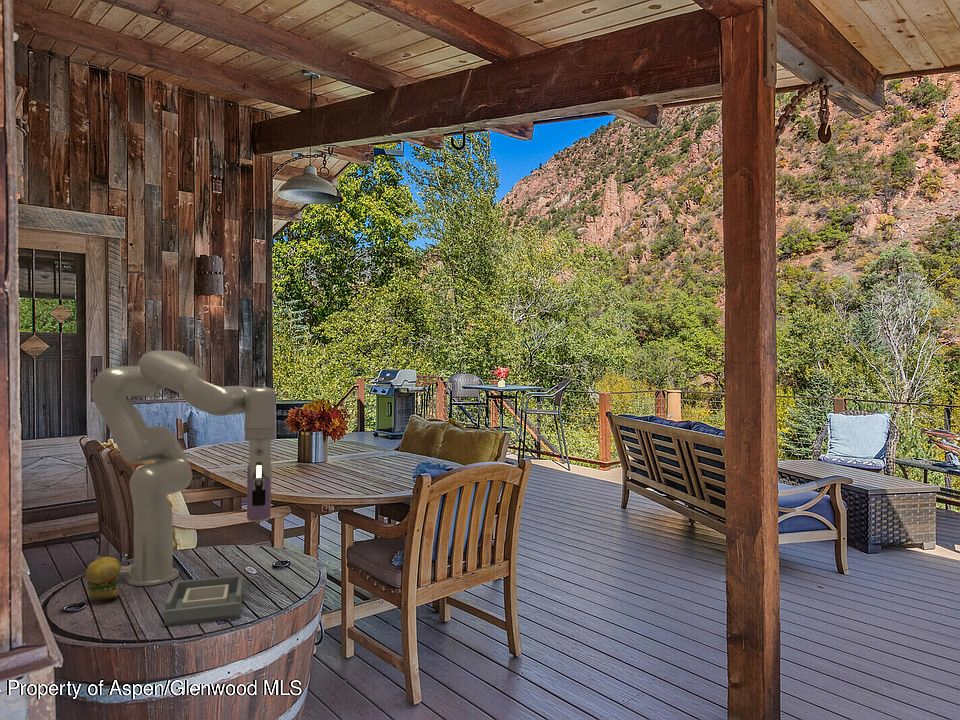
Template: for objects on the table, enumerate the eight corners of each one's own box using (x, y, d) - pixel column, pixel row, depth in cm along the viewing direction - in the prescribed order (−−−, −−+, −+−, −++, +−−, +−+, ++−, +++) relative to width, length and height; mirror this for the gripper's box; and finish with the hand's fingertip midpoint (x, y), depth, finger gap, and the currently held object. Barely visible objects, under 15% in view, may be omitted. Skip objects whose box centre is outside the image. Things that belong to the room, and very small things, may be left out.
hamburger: (126, 595, 164) (126, 548, 164) (113, 605, 156) (113, 556, 156) (94, 596, 163) (94, 549, 163) (79, 607, 156) (79, 557, 156)
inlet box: (164, 627, 144) (164, 604, 144) (174, 601, 159) (174, 581, 159) (240, 618, 149) (240, 596, 149) (243, 594, 164) (243, 574, 164)
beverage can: (263, 523, 165) (263, 465, 165) (242, 521, 166) (242, 463, 166) (275, 517, 171) (275, 461, 170) (254, 516, 172) (255, 460, 172)
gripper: (274, 437, 161) (274, 509, 161) (274, 430, 178) (273, 495, 178) (243, 438, 159) (242, 511, 159) (245, 430, 175) (245, 496, 175)
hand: (259, 501), depth 168 cm, fingers closed on beverage can, 5 cm apart
